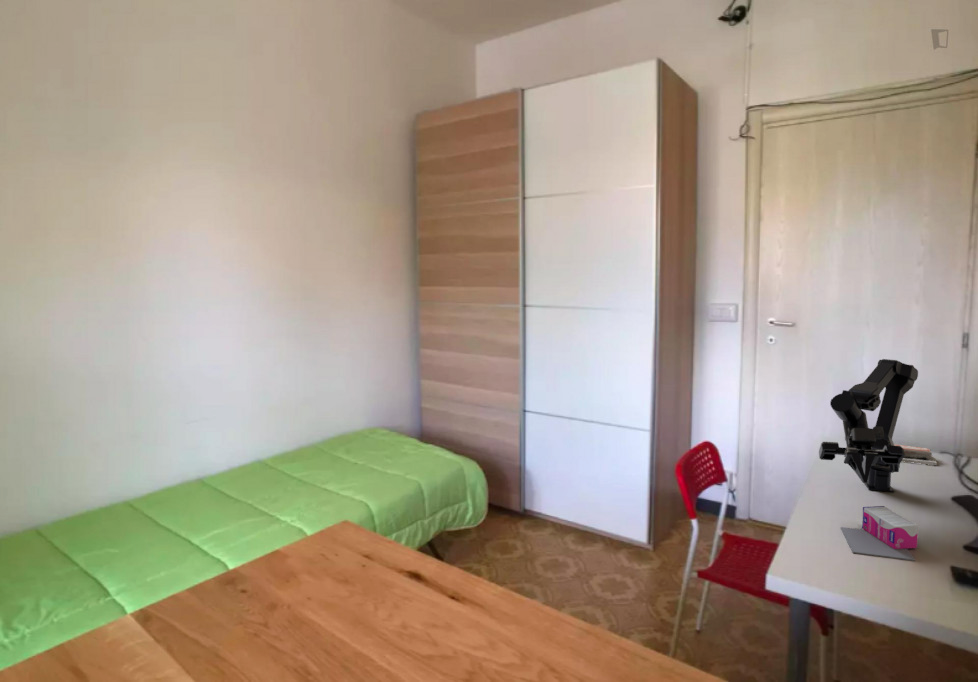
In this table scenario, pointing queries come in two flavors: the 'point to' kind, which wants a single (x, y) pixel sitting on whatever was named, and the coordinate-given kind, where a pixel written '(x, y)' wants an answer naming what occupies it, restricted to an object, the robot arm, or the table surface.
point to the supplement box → (890, 527)
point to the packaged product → (918, 455)
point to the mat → (872, 545)
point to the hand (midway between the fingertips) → (865, 482)
